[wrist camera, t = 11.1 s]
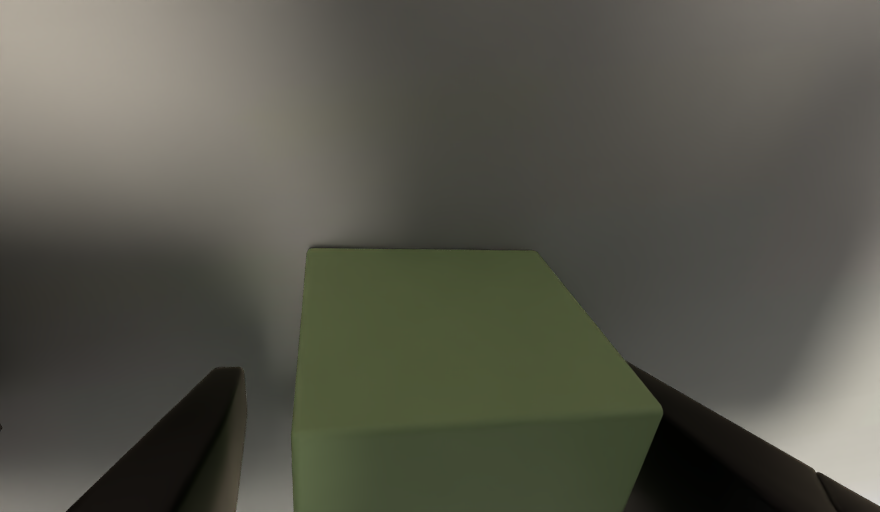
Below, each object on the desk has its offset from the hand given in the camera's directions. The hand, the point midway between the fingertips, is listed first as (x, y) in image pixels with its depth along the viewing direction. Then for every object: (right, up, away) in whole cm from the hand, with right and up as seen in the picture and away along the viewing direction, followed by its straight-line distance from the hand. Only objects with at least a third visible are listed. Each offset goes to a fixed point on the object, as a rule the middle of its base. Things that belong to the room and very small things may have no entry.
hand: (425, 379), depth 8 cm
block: (0, 0, +1) cm, 1 cm away
